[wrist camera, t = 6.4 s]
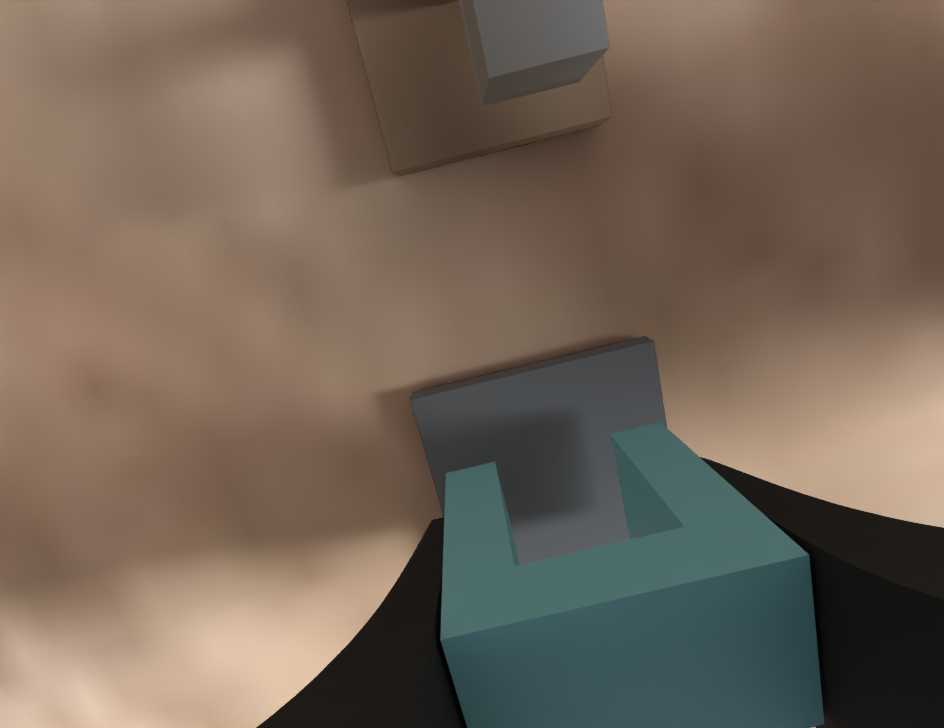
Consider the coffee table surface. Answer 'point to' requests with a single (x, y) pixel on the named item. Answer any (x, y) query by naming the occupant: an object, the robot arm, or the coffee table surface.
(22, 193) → the coffee table surface
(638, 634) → the teal notched block
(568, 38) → the stand
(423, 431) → the mat
